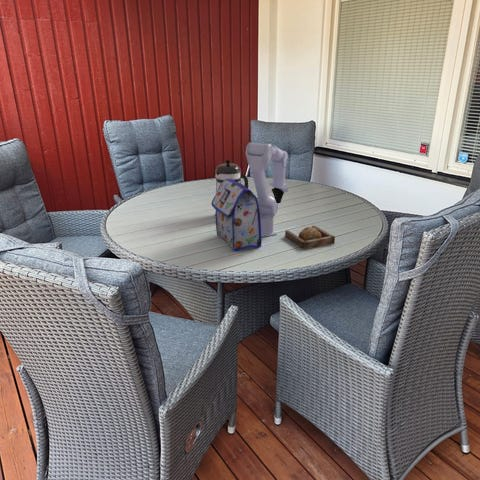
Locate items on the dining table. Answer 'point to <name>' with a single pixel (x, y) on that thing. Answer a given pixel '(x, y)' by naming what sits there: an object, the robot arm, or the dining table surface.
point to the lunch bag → (237, 215)
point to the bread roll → (309, 234)
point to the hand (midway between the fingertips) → (278, 202)
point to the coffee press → (229, 174)
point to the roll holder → (303, 244)
